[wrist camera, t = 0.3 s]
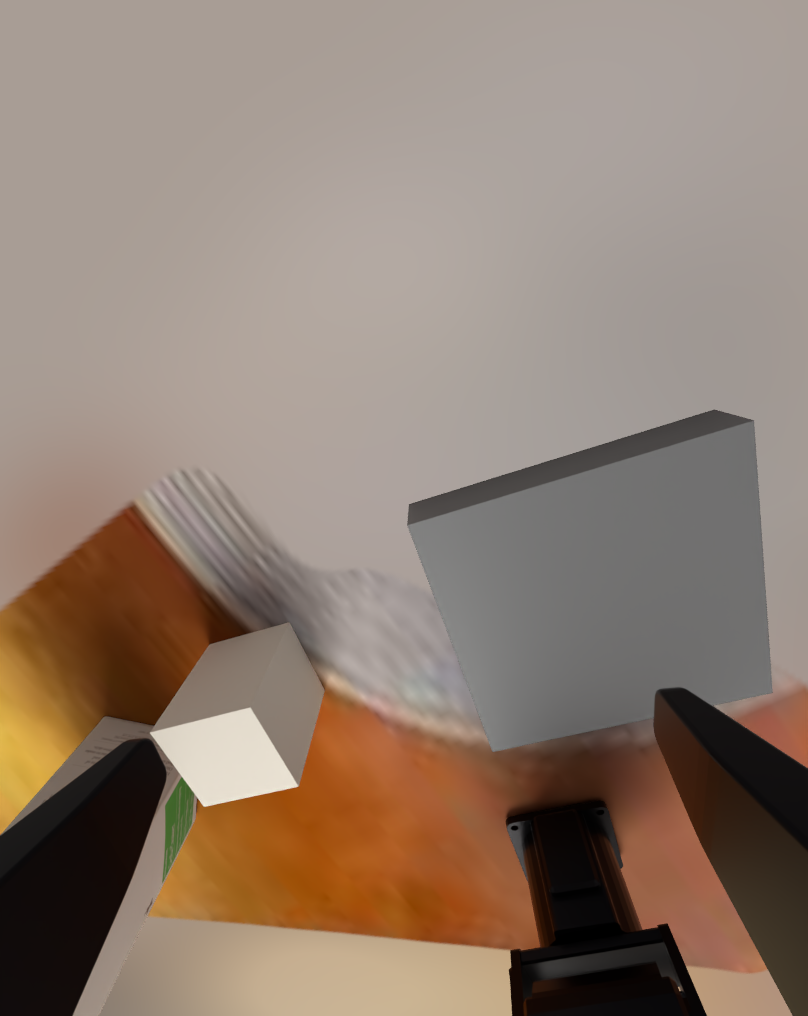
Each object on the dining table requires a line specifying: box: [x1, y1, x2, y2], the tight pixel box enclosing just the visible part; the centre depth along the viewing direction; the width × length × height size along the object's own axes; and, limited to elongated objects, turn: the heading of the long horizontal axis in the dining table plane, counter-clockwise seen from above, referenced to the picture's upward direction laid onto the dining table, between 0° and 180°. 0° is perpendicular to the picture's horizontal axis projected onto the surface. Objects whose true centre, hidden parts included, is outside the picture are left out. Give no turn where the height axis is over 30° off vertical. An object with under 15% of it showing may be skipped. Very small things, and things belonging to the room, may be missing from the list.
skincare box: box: [1, 716, 197, 1016], centre depth 22 cm, size 8×7×16 cm
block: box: [150, 622, 325, 807], centre depth 23 cm, size 5×5×6 cm
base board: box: [407, 410, 773, 752], centre depth 22 cm, size 14×14×2 cm
